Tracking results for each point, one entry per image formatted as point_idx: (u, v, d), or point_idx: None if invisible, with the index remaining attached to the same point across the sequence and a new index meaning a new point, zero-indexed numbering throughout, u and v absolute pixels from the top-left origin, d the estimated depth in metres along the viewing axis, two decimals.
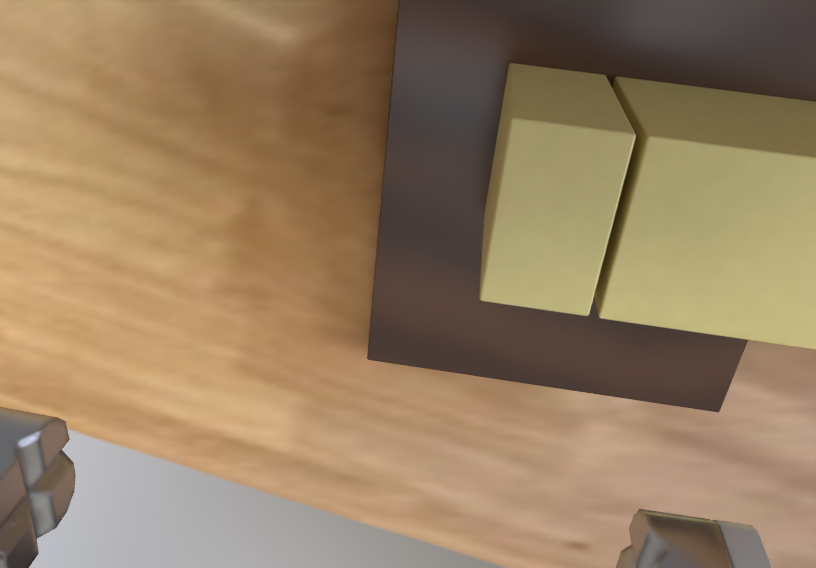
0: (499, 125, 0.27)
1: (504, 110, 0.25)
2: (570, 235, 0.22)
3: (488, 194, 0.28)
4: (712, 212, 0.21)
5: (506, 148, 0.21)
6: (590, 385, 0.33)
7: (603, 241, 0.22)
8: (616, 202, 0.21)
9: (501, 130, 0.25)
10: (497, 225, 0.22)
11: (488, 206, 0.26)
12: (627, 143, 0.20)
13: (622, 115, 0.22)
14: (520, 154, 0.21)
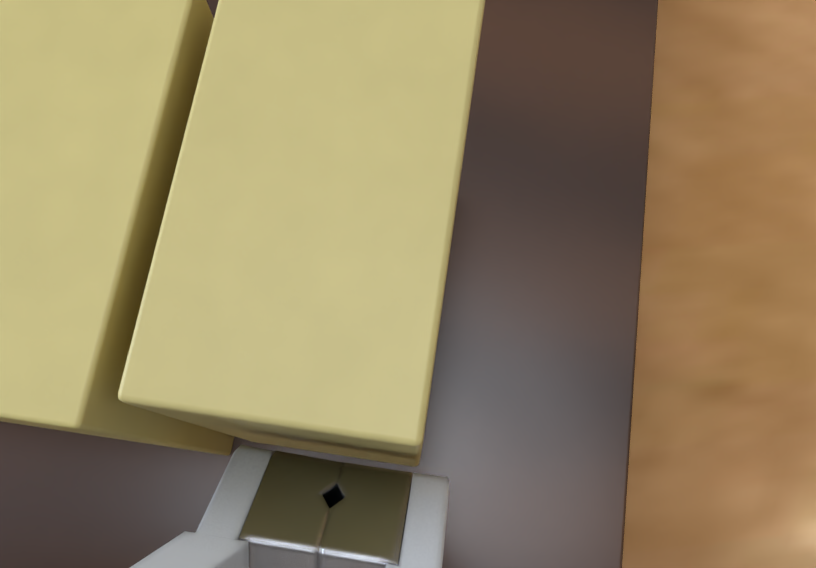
0: None
1: None
2: (271, 148, 0.09)
3: None
4: None
5: (430, 366, 0.08)
6: None
7: (193, 135, 0.09)
8: (163, 230, 0.09)
9: None
10: (449, 172, 0.09)
11: None
12: (136, 377, 0.08)
13: (175, 417, 0.10)
14: (394, 352, 0.08)
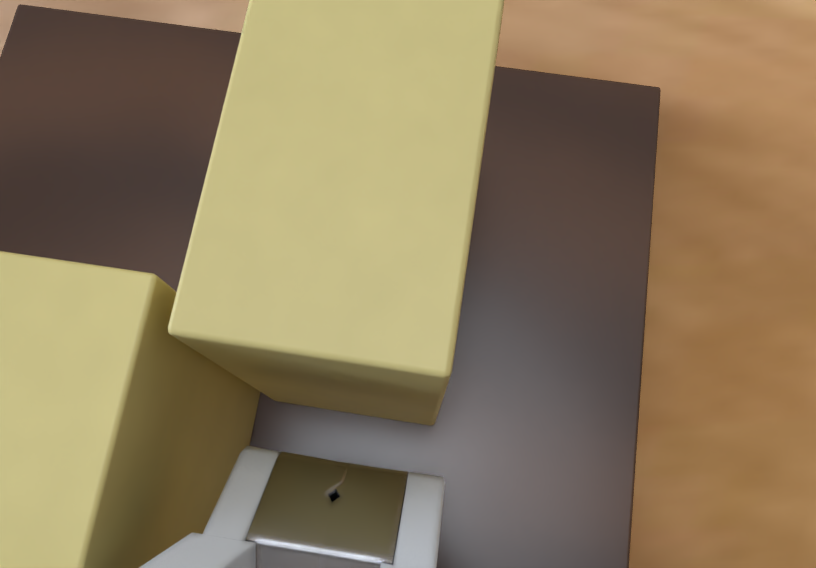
0: None
1: None
2: (309, 104, 0.10)
3: None
4: None
5: (458, 304, 0.09)
6: None
7: (236, 91, 0.10)
8: (208, 178, 0.09)
9: None
10: (474, 128, 0.10)
11: None
12: (184, 312, 0.09)
13: (214, 359, 0.11)
14: (425, 291, 0.09)
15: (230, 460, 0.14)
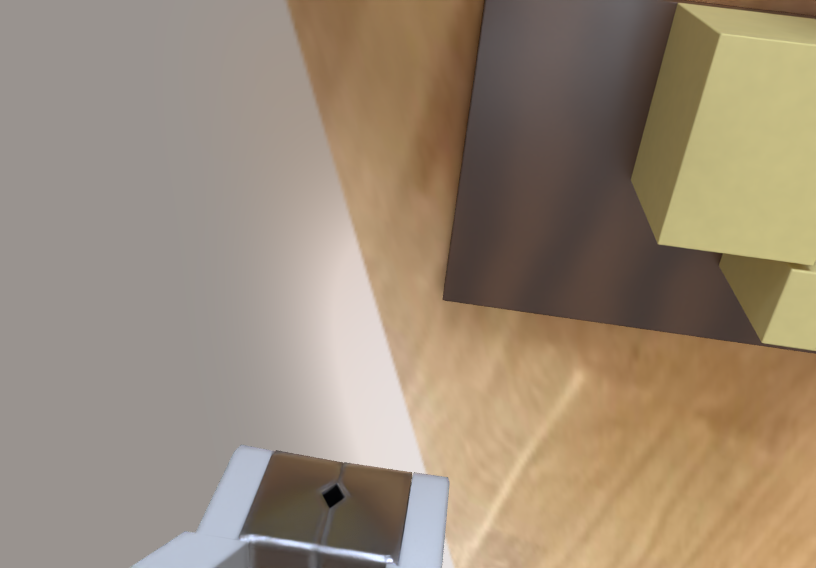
0: None
1: None
2: None
3: None
4: (727, 196, 0.27)
5: None
6: None
7: None
8: None
9: None
10: None
11: None
12: (797, 274, 0.28)
13: None
14: (789, 338, 0.30)
15: None
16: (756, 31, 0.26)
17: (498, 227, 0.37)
